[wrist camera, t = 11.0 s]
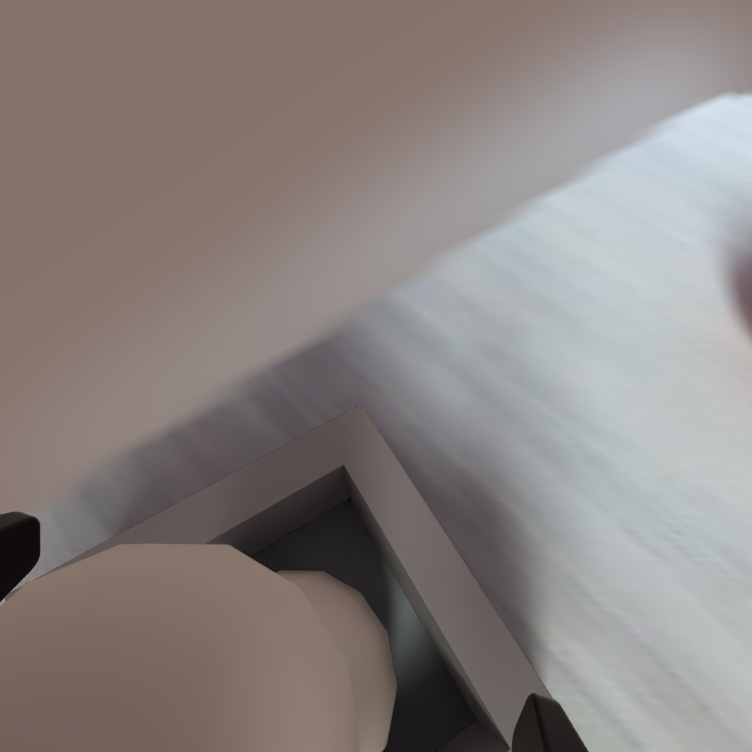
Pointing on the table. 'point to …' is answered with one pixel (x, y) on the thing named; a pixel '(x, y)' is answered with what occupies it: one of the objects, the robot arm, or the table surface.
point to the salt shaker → (191, 657)
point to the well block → (395, 541)
